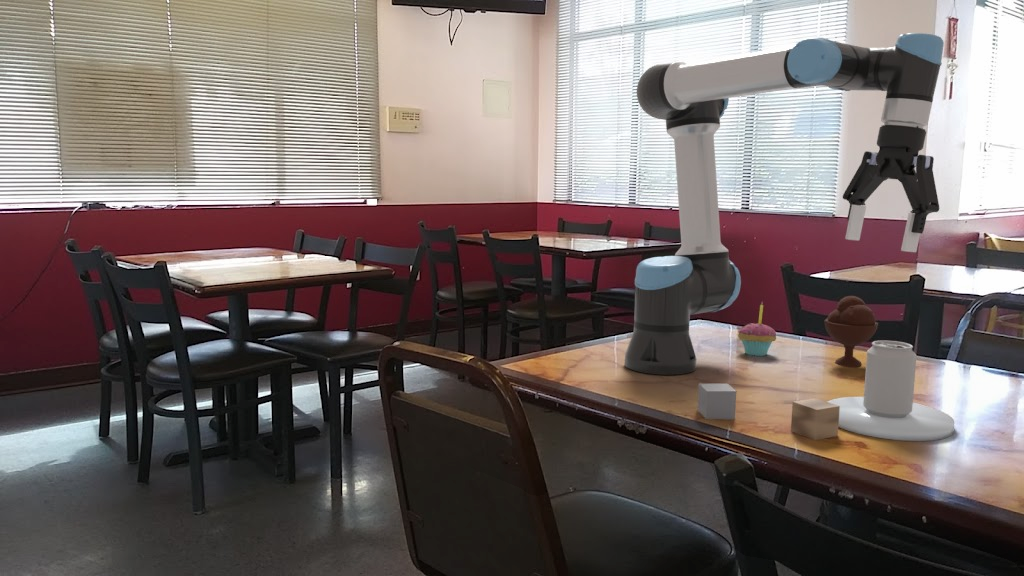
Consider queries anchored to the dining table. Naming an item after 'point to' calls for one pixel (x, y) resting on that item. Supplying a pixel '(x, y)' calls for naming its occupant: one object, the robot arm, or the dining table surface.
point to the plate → (894, 422)
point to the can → (889, 379)
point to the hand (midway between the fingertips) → (879, 245)
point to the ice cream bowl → (851, 327)
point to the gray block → (717, 401)
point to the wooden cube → (815, 418)
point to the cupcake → (757, 337)
